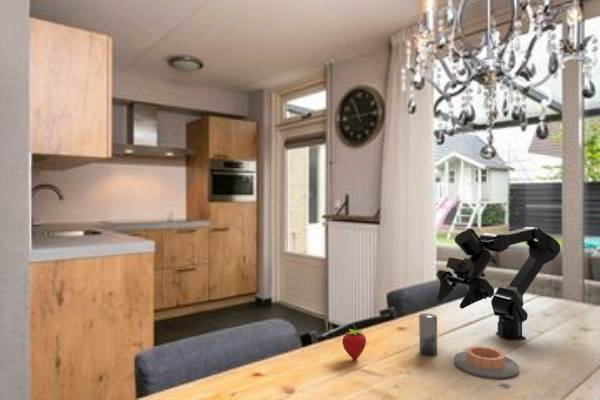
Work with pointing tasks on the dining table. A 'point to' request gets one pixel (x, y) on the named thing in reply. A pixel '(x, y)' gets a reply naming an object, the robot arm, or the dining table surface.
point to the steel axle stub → (428, 334)
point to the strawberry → (354, 343)
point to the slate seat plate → (487, 372)
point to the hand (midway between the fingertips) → (449, 303)
